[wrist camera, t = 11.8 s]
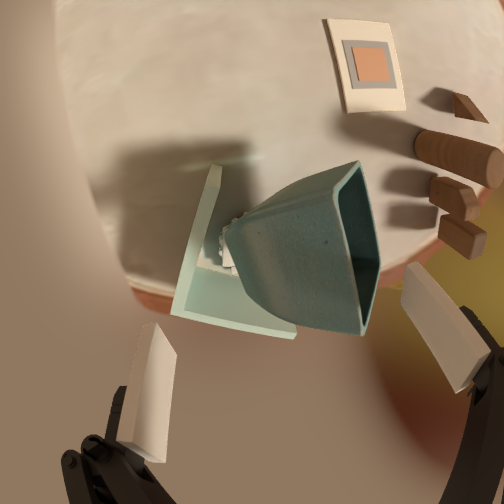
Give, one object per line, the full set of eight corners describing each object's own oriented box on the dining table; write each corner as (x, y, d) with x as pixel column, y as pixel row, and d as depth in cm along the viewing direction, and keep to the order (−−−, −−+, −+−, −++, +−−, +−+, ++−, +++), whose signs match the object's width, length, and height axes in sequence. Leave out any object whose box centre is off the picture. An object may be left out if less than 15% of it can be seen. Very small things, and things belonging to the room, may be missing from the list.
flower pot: (259, 181, 23) (361, 158, 18) (289, 270, 26) (383, 264, 21) (191, 218, 17) (333, 188, 11) (240, 331, 19) (363, 340, 14)
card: (326, 20, 18) (328, 18, 17) (386, 24, 17) (389, 23, 17) (346, 113, 22) (349, 113, 22) (403, 110, 22) (407, 110, 22)
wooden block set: (451, 226, 30) (503, 262, 21) (407, 237, 29) (463, 282, 20) (457, 94, 21) (522, 105, 12) (409, 84, 21) (485, 87, 12)
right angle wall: (280, 293, 32) (293, 339, 26) (181, 268, 29) (170, 314, 23) (325, 202, 27) (355, 234, 21) (211, 163, 24) (205, 184, 18)
